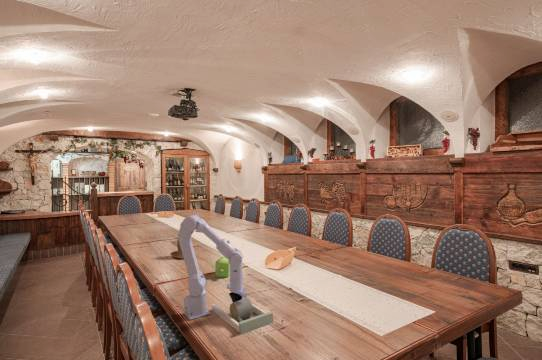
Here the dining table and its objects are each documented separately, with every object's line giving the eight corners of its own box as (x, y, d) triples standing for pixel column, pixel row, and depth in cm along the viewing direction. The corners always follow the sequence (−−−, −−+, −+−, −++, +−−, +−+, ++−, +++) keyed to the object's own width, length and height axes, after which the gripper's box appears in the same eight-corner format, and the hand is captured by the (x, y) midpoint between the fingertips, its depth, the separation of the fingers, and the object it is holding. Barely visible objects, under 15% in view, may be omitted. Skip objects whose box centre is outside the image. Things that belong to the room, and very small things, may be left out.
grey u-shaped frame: (241, 334, 121) (240, 323, 121) (211, 309, 143) (211, 301, 143) (273, 322, 130) (272, 312, 130) (240, 301, 152) (240, 293, 152)
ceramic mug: (228, 316, 135) (228, 299, 135) (245, 311, 140) (244, 295, 139) (240, 327, 126) (240, 308, 126) (257, 321, 131) (257, 303, 131)
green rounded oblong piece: (228, 281, 181) (228, 265, 180) (212, 279, 183) (212, 263, 183) (238, 271, 199) (238, 256, 198) (223, 269, 201) (223, 255, 200)
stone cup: (194, 257, 232) (193, 237, 232) (179, 260, 224) (178, 240, 224) (184, 253, 243) (183, 234, 243) (169, 256, 235) (169, 237, 235)
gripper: (252, 281, 135) (253, 311, 135) (236, 272, 147) (236, 301, 147) (238, 284, 131) (239, 316, 131) (222, 275, 143) (223, 304, 143)
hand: (236, 308), depth 139 cm, fingers closed
